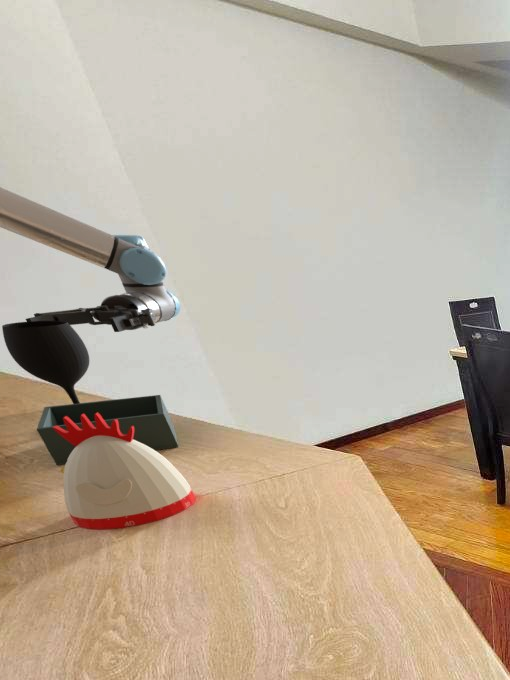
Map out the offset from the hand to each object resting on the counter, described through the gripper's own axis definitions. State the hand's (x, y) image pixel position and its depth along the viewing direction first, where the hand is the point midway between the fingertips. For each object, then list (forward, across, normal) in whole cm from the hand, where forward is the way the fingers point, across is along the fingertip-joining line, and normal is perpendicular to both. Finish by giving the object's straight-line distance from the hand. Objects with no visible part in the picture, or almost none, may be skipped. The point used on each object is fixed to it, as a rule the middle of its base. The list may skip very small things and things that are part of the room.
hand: (73, 325), depth 122 cm
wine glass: (+10, 0, -18) cm, 21 cm away
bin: (+24, -12, -18) cm, 32 cm away
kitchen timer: (+58, -30, -18) cm, 68 cm away
